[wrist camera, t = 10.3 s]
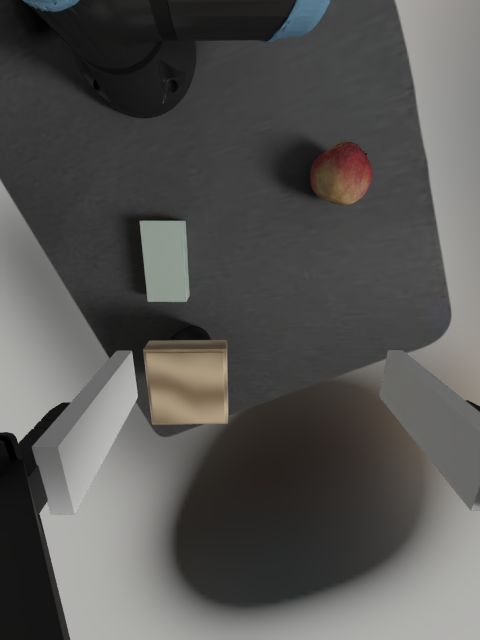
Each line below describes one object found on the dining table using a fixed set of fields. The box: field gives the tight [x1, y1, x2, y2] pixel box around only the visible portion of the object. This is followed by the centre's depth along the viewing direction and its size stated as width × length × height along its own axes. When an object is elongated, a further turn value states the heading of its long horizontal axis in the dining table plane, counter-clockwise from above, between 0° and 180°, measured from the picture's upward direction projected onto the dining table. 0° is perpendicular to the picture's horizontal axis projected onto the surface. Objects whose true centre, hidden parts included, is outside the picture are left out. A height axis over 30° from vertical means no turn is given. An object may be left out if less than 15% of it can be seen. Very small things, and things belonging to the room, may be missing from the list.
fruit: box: [310, 141, 373, 205], centre depth 40 cm, size 8×8×8 cm
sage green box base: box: [140, 220, 189, 302], centre depth 46 cm, size 12×6×4 cm, turn 0°
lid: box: [143, 340, 228, 424], centre depth 42 cm, size 12×11×3 cm
